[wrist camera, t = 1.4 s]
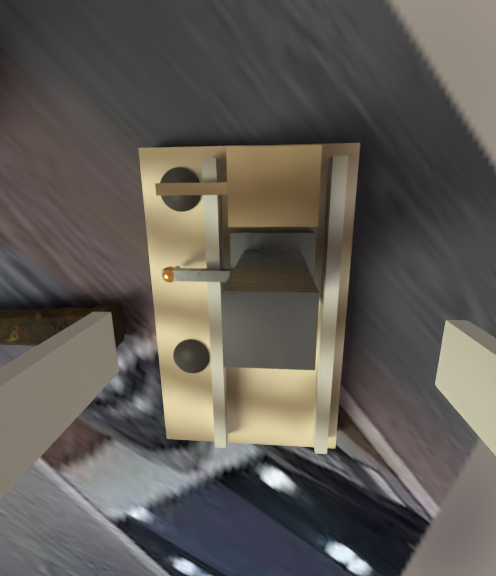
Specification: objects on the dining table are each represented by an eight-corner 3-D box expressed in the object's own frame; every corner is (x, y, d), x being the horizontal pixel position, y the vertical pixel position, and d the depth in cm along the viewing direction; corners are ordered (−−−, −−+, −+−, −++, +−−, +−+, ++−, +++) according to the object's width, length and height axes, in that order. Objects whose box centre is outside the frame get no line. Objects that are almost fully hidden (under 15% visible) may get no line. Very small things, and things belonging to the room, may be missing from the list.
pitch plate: (149, 151, 25) (119, 141, 21) (353, 147, 24) (372, 134, 19) (173, 424, 33) (155, 463, 28) (331, 432, 31) (341, 475, 26)
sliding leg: (168, 230, 25) (74, 259, 13) (313, 230, 24) (347, 262, 12) (174, 303, 26) (95, 385, 15) (309, 305, 25) (336, 396, 14)
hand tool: (126, 298, 29) (99, 316, 25) (130, 337, 31) (105, 361, 26) (-60, 291, 31) (-116, 307, 27) (-50, 329, 32) (-102, 350, 28)
